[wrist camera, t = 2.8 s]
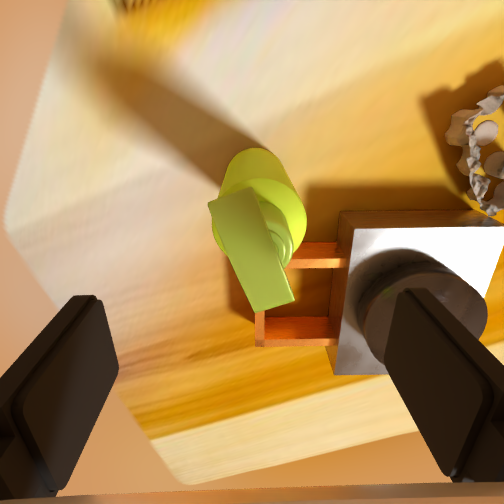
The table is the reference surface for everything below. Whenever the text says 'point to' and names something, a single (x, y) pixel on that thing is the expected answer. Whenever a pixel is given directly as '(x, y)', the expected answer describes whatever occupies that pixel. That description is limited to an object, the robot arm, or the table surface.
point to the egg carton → (484, 134)
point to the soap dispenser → (259, 225)
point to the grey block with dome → (389, 280)
